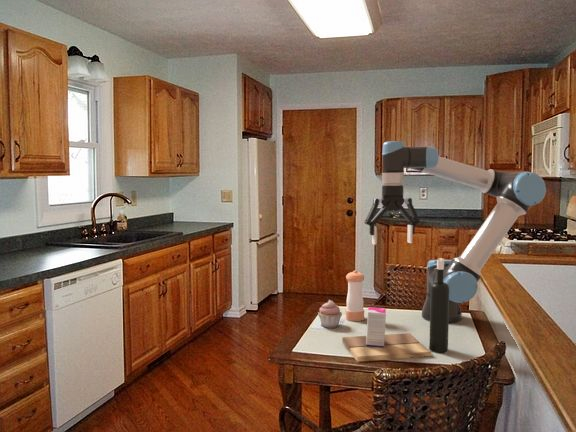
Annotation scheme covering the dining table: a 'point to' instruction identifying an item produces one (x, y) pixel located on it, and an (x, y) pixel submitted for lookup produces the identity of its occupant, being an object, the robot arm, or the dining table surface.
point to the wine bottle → (439, 312)
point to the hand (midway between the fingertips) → (392, 243)
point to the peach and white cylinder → (355, 297)
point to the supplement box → (376, 327)
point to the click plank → (389, 340)
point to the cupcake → (330, 315)
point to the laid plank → (389, 352)
